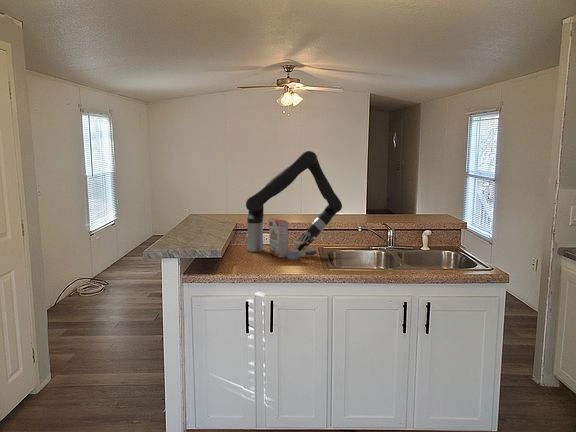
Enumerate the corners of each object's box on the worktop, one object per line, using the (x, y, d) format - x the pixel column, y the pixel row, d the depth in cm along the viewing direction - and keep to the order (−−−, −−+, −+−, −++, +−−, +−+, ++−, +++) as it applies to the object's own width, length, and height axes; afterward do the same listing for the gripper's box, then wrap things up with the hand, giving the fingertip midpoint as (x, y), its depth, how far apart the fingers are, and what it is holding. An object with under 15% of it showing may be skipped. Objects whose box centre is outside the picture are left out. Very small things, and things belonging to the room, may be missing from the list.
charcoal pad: (295, 253, 288) (295, 250, 288) (303, 250, 294) (303, 248, 294) (308, 255, 282) (308, 252, 282) (316, 252, 289) (316, 250, 289)
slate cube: (287, 258, 273) (287, 251, 273) (292, 257, 277) (292, 249, 276) (293, 259, 271) (293, 252, 270) (298, 258, 274) (298, 250, 274)
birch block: (294, 255, 282) (294, 241, 280) (302, 254, 283) (302, 241, 282) (297, 257, 277) (297, 243, 276) (305, 256, 278) (305, 242, 277)
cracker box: (269, 253, 287) (268, 218, 284) (278, 252, 289) (278, 217, 286) (278, 258, 274) (278, 221, 271) (288, 257, 277) (288, 220, 274)
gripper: (307, 221, 286) (288, 242, 284) (316, 224, 273) (296, 247, 271) (316, 229, 289) (297, 250, 287) (325, 233, 275) (305, 255, 273)
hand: (296, 249), depth 279 cm, fingers closed on birch block, 5 cm apart
